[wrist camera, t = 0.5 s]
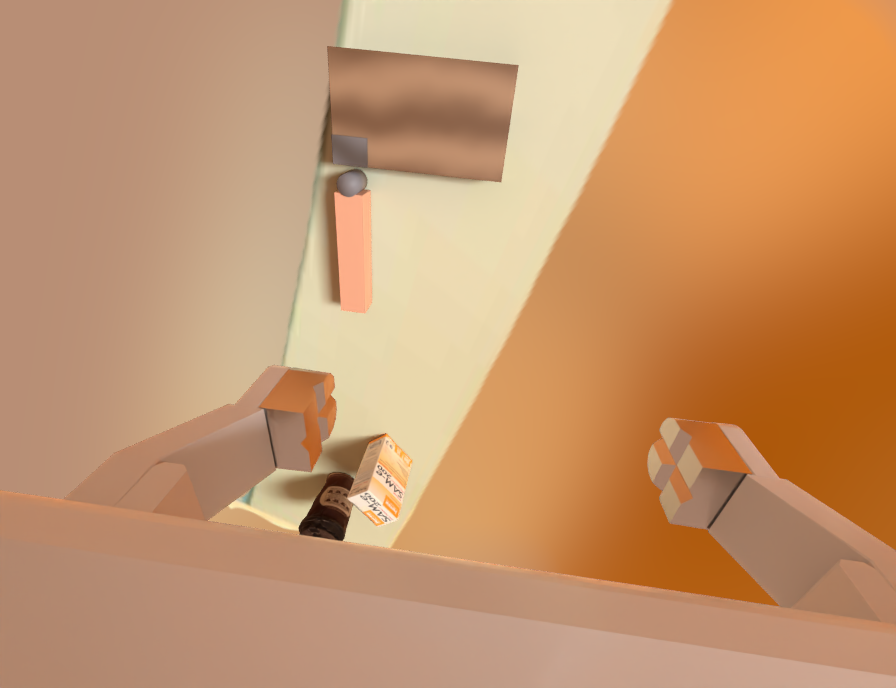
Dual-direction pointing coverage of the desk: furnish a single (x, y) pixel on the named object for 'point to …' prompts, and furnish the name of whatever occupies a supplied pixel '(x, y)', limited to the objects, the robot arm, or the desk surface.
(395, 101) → the seat block
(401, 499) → the supplement box
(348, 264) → the stool leg
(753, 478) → the robot arm
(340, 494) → the coffee cup
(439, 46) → the desk surface
